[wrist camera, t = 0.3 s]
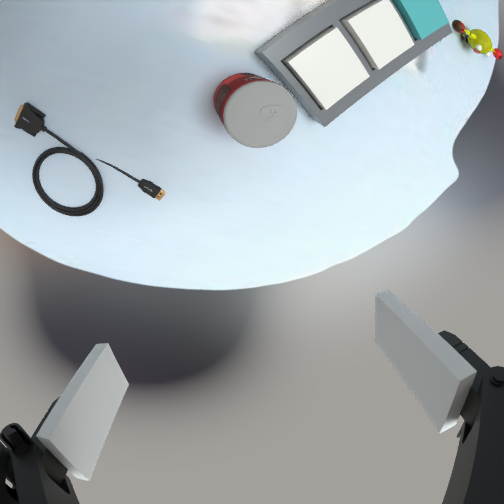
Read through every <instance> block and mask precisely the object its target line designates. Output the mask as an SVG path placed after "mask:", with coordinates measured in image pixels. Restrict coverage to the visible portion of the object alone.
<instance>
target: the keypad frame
mask: <svg viewBox="0 0 504 504" xmlns="http://www.w3.org/2000/svg"><path fill="white" fill-rule="evenodd" d="M370 1H372V0H329V1H327V2H326V3H324V4H322V5H321V6H319V7H317V8H316V9H314V10H312V11H311V12H309V13H308V14H306V15H305V16H303V17H302V18H300V19H299V20H297V21H296V22H294V23H293V24H291V25H290V26H288V27H287V28H286V29H284V30H283V31H281V32H280V33H279V34H277V35H276V36H274V37H273V38H272V39H270V40H269V41H268V42H266V43H265V44H264V45H262V46H261V47H260V48H259V49H257V50H256V51H255V53H256V54H257V55H258V56H259V57H260V58H261V59H262V60H263V61H264V62H265V63H266V64H267V65H268V66H269V68H270V69H271V70H272V71H273V72H274V73H275V74H276V75H277V76H278V77H279V79H280V80H281V81H282V82H283V83H284V84H285V85H286V87H287V88H288V89H289V90H290V91H291V92H292V94H293V95H294V96H295V97H296V98H297V100H298V101H299V102H300V103H301V104H302V106H303V107H304V108H305V109H306V111H307V112H308V113H309V114H310V116H311V117H312V118H313V119H314V120H315V121H317V122H318V123H320V124H321V125H323V126H324V127H325V126H327V125H328V124H329V123H330V122H332V121H333V120H334V119H335V118H337V117H338V116H339V115H340V114H342V113H343V112H344V111H345V110H347V109H348V108H349V107H350V106H352V105H353V104H354V103H355V102H357V101H358V100H359V99H361V98H362V97H363V96H364V95H366V94H367V93H368V92H370V91H371V90H372V89H374V88H375V87H376V86H377V85H379V84H380V83H381V82H383V81H384V80H385V79H387V78H388V77H389V76H391V75H392V74H393V73H395V72H396V71H398V70H399V69H400V68H402V67H403V66H404V65H406V64H407V63H409V62H410V61H411V60H413V59H414V58H416V57H417V56H418V55H420V54H421V53H423V52H424V51H425V50H427V49H428V48H430V47H431V46H433V45H434V44H436V43H437V42H438V41H440V40H441V39H443V38H444V37H446V36H447V35H449V34H450V33H452V31H451V28H450V26H449V24H448V23H447V24H446V25H444V26H442V27H441V28H439V29H438V30H436V31H435V32H433V33H431V34H430V35H428V36H427V37H425V38H424V39H422V40H420V39H414V38H413V36H412V34H411V32H410V31H409V29H408V27H407V25H406V23H405V21H404V20H403V18H402V16H401V14H400V13H399V11H398V9H397V8H396V6H395V5H394V3H393V1H392V0H389V1H390V2H391V4H392V5H393V7H394V9H395V10H396V12H397V13H398V15H399V17H400V19H401V20H402V22H403V24H404V26H405V27H406V29H407V31H408V33H409V35H410V37H411V39H412V41H413V43H414V45H413V46H412V47H410V48H409V49H408V50H406V51H405V52H403V53H402V54H400V55H399V56H397V57H396V58H395V59H393V60H392V61H390V62H389V63H388V64H386V65H385V66H383V67H382V68H381V69H375V68H371V67H370V66H369V64H368V63H367V61H366V59H365V58H364V56H363V55H362V53H361V51H360V50H359V48H358V47H357V45H356V44H355V42H354V41H353V39H352V38H351V36H350V35H349V34H348V32H347V31H346V29H345V28H344V27H343V25H342V24H341V22H340V21H339V20H340V19H341V18H343V17H344V16H346V15H348V14H349V13H351V12H353V11H354V10H356V9H358V8H359V7H361V6H363V5H365V4H366V3H368V2H370ZM333 27H337V28H338V29H339V31H340V32H341V33H342V35H343V36H344V38H345V39H346V40H347V42H348V43H349V45H350V46H351V48H352V49H353V51H354V52H355V54H356V55H357V57H358V58H359V60H360V61H361V63H362V65H363V66H364V68H365V69H366V71H367V73H368V74H369V76H370V77H368V78H367V79H366V80H364V81H363V82H362V83H360V84H359V85H358V86H356V87H355V88H354V89H353V90H351V91H350V92H349V93H347V94H346V95H345V96H343V97H342V98H341V99H340V100H338V101H337V102H336V103H335V104H333V105H332V106H331V107H330V108H328V109H327V110H325V109H324V108H322V107H320V106H318V105H316V103H315V102H314V101H313V100H312V98H311V97H310V96H309V94H308V93H307V92H306V91H305V89H304V88H303V87H302V86H301V85H300V83H299V82H298V81H297V80H296V78H295V77H294V76H293V75H292V74H291V73H290V71H289V70H288V69H287V68H286V67H285V66H284V64H283V63H282V62H281V60H282V59H284V58H285V57H286V56H288V55H289V54H290V53H292V52H293V51H294V50H296V49H297V48H298V47H300V46H301V45H302V44H304V43H305V42H307V41H308V40H309V39H311V38H312V37H314V36H315V35H317V34H318V33H320V32H321V31H323V30H324V29H326V28H333Z"/></svg>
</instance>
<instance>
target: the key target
mask: <svg viewBox="0 0 504 504" xmlns="http://www.w3.org/2000/svg"><path fill="white" fill-rule="evenodd" d="M392 1H393V3H394V5H395V6H396V8H397V9H398V11H399V13H400V14H401V16H402V18H403V20H404V21H405V23H406V25H407V27H408V29H409V31H410V32H411V34H412V36H413V38H414V39H420V40H422V39H424V38H425V37H427V36H428V35H430V34H431V33H433V32H435V31H436V30H438V29H439V28H441V27H442V26H444V25H446V24H447V23H449V22H448V19H447V17H446V15H445V13H444V11H443V9H442V7H441V5H440V3H439V1H438V0H392Z"/></svg>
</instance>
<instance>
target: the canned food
mask: <svg viewBox="0 0 504 504" xmlns="http://www.w3.org/2000/svg"><path fill="white" fill-rule="evenodd" d="M214 105H215V109H216V111H217V113H218V115H219V117H220V119H221V121H222V122H223V124H224V126H225V128H226V130H227V131H228V133H229V134H230V135H231V137H232V138H233V139H235V140H236V141H237V142H239V143H240V144H242V145H245V146H248V147H253V148H262V147H267V146H271V145H274V144H276V143H278V142H279V141H281V140H282V139H284V138H285V137H286V136H287V135H288V134H289V132H290V131H291V130H292V128H293V126H294V124H295V121H296V117H297V107H296V103H295V101H294V98H293V97H292V95H291V94H290V93H289V92H288V91H287V90H286V89H285V88H284V87H282V86H281V85H279V84H277V83H275V82H273V81H270V80H268V79H265V78H262V77H260V76H257V75H254V74H250V73H239V74H235V75H232V76H230V77H228V78H227V79H225V80H224V81H223V82H222V83H221V84H220V85H219V87H218V88H217V90H216V93H215V97H214Z"/></svg>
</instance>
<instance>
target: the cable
mask: <svg viewBox="0 0 504 504" xmlns="http://www.w3.org/2000/svg"><path fill="white" fill-rule="evenodd" d="M44 117H45V114H43V113H42V112H41V111H39V110H38V109H36V108H34V107H33V106H31V104H29V103H26V104H25V103H24V105H21V106H20V109H19V111H18V113H17V115H16V117H15V121H16V124H15V126H14V127H16V128H20V129H23V130H24V131H26V132H27V133H29V134H31V135H32V136H34V137H35V136H36V134H37V133H38V132H39V131H41V130H42V131H43V132H44V131H46V132H47V133H48V134H50V135H51V136H53V137H54V138H56V139H57V140H58V141H60V142H61V143H63V144H64V145H65V146H67V147H68V148H65V147H54V148H51V149H48V150H46V151H44V152H43V153H42V154H41V155H40V156H39V157H38V158H37V160H36V162H35V164H34V167H33V174H32V175H33V183H34V186H35V189H36V191H37V193H38V194H39V196H40V197H41V199H42V200H43V201H44V202H45V203H46V204H47V205H48V206H49V207H51V208H52V209H54V210H55V211H57V212H59V213H62V214H65V215H68V216H83V215H87V214H89V213H91V212H93V211H94V210H95V209H96V208H97V207H98V206H99V205H100V202H101V200H102V197H103V183H102V178H101V175H100V173H99V171H98V169H97V167H96V166H95V165H94V163H93V162H92V161H91V160H90V159H89V158H88V157H86V156H85V155H84V154H83V153H80V152H78V151H76V150H75V149H73V148H72V147H71V146H70V145H68V144H67V143H66V142H64V141H63V140H61V139H60V138H59V137H57V136H56V135H54V134H53V133H51V132H50V131H49V130H47V129H46V127H45V126H44V119H43V118H44ZM55 153H65V154H69V155H72V156H75V157H76V158H78V159H80V160H81V161H82V162H84V163H85V164H86V165H87V166H88V168H89V169H90V170H91V172H92V174H93V176H94V178H95V182H96V191H95V195H94V197H93V198H92V200H91V201H90V202H89V203H88V204H86V205H84V206H81V207H76V208H71V207H65V206H62V205H60V204H58V203H56V202H54V201H53V200H52V199H50V198H49V197H48V196H47V194H46V193H45V192H44V190H43V189H42V187H41V184H40V181H39V169H40V166H41V164H42V162H43V161H44V160H45V159H46V158H47V157H48V156H50V155H52V154H55ZM97 160H98V159H97ZM99 161H101V162H103V163H105V164H107V165H109V166H111V167H113V168H115V169H116V170H118V171H120V172H121V173H123V174H125V175H126V176H128V177H130V178H131V179H133V180H135V181H136V182H138V183H139V184H138V186H139V187H140V188H141V189H142V191H143V192H145V193H147V194H149V195H150V196H151V197H153V198H156V199H158V200H160V199H161V198H162V197H163V196H164V195H165V193H166V192H164V191H163V190H161V188H160V187H158V186H156V185H155V184H153V183H152V182H151V181H147V180H145V179H142V180H141V181H139V180H137V179H136V178H134V177H132V176H131V175H129V174H127V173H126V172H124V171H122V170H120V169H119V168H117V167H115V166H113V165H111V164H109V163H106V162H104V161H102V160H99ZM142 182H143V183H142ZM95 205H96V206H95ZM94 206H95V207H94ZM93 207H94V208H93ZM89 210H90V211H89ZM87 211H88V212H87Z"/></svg>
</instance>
